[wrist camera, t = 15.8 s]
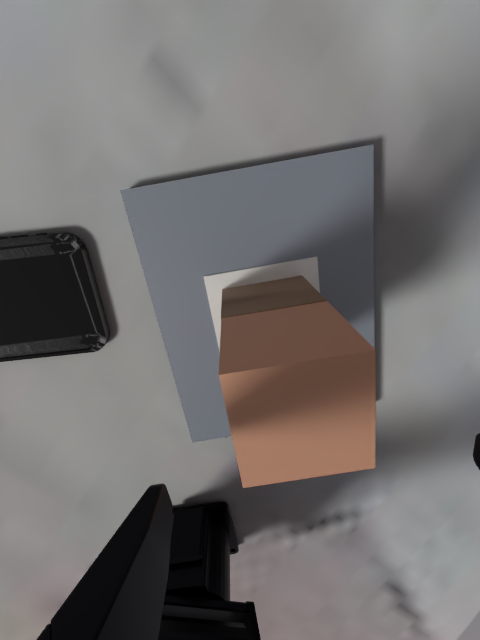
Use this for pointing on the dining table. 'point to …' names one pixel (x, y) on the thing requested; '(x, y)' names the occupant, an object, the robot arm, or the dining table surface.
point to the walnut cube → (268, 296)
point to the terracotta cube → (298, 393)
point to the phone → (48, 298)
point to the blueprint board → (251, 255)
